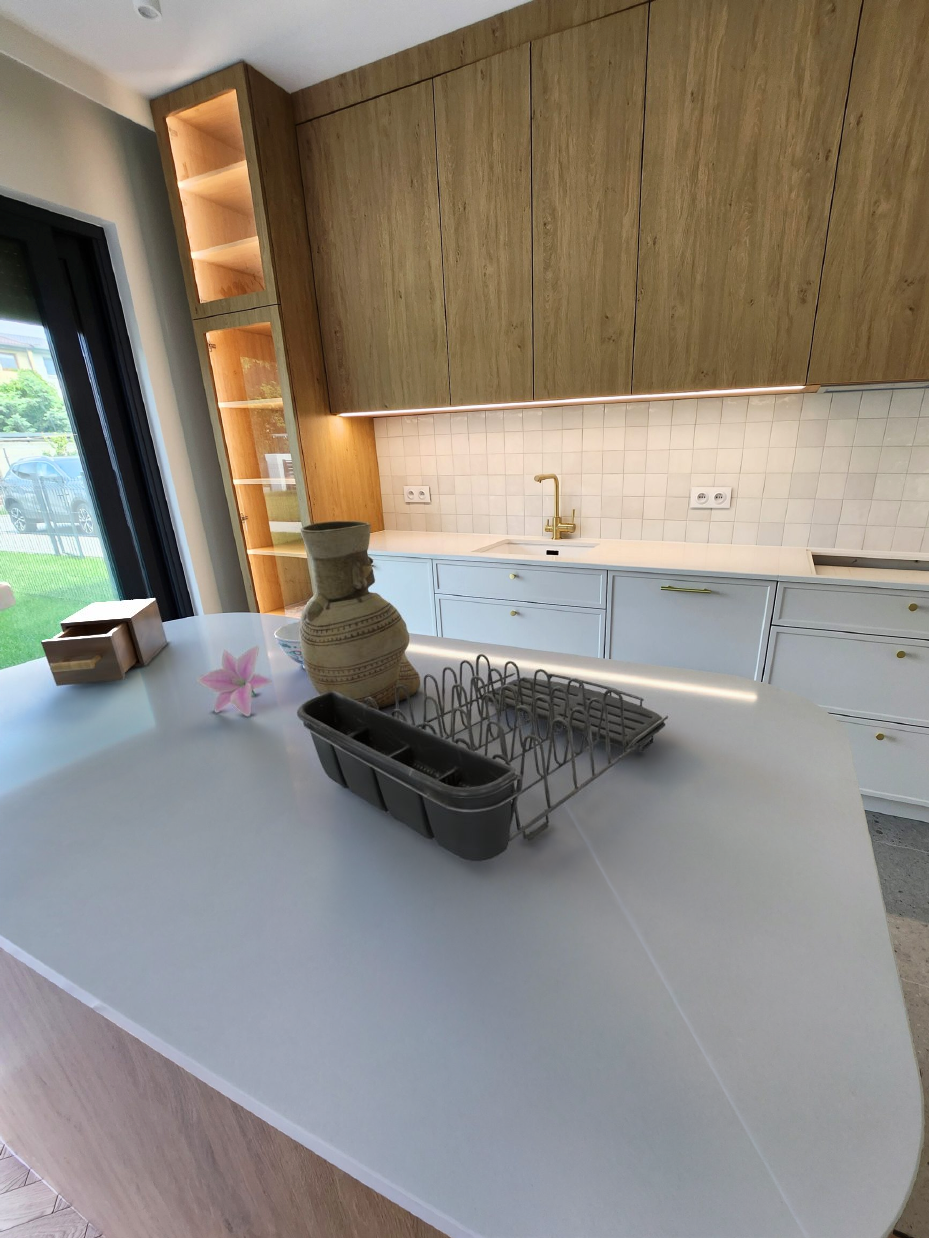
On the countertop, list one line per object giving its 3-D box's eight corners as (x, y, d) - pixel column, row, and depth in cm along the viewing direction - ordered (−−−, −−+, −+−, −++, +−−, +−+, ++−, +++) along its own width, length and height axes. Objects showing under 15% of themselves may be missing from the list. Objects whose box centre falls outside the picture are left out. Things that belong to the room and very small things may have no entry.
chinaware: (266, 669, 118) (258, 632, 115) (326, 648, 129) (321, 614, 126) (313, 684, 110) (306, 645, 107) (373, 660, 121) (368, 624, 118)
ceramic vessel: (407, 668, 116) (391, 511, 104) (432, 709, 98) (416, 526, 86) (307, 683, 110) (278, 519, 98) (314, 730, 92) (279, 536, 80)
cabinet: (145, 666, 121) (130, 617, 117) (76, 673, 119) (59, 622, 115) (167, 643, 135) (155, 598, 131) (107, 648, 133) (92, 603, 129)
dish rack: (298, 783, 78) (281, 701, 73) (519, 683, 107) (518, 620, 103) (476, 907, 56) (469, 801, 52) (691, 739, 86) (699, 662, 81)
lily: (202, 707, 104) (177, 673, 96) (255, 665, 110) (235, 630, 102) (245, 740, 100) (223, 708, 92) (298, 695, 105) (281, 661, 98)
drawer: (113, 688, 108) (99, 643, 104) (43, 696, 106) (26, 650, 102) (148, 654, 125) (137, 615, 122) (89, 660, 123) (75, 620, 119)
